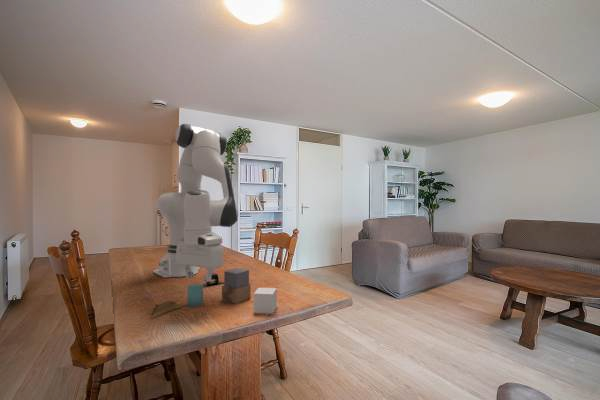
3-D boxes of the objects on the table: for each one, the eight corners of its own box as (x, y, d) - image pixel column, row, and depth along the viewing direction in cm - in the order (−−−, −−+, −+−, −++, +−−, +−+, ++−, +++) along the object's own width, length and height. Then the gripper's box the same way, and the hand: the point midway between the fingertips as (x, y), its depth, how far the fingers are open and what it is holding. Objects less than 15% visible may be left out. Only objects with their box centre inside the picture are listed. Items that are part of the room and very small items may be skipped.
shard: (151, 320, 80) (151, 314, 80) (135, 315, 84) (135, 309, 84) (182, 308, 90) (182, 302, 90) (167, 304, 93) (167, 298, 93)
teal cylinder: (184, 304, 91) (184, 286, 91) (196, 300, 95) (197, 283, 96) (193, 307, 89) (193, 289, 89) (206, 303, 93) (206, 285, 93)
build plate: (222, 280, 121) (222, 270, 121) (230, 284, 116) (230, 273, 116) (194, 286, 113) (194, 275, 113) (201, 290, 108) (201, 279, 108)
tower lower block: (221, 300, 96) (221, 285, 96) (236, 294, 102) (236, 281, 102) (236, 304, 92) (236, 289, 92) (250, 298, 98) (250, 284, 98)
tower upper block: (224, 285, 96) (224, 271, 96) (236, 281, 101) (236, 268, 101) (236, 288, 93) (236, 273, 93) (248, 284, 98) (248, 270, 98)
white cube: (276, 306, 90) (276, 288, 90) (272, 314, 84) (272, 294, 84) (258, 305, 90) (258, 287, 90) (253, 313, 84) (253, 293, 84)
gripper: (170, 237, 95) (171, 277, 95) (210, 240, 84) (211, 285, 84) (186, 235, 101) (187, 273, 100) (226, 238, 90) (226, 280, 90)
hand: (198, 279), depth 92 cm, fingers open, 8 cm apart
